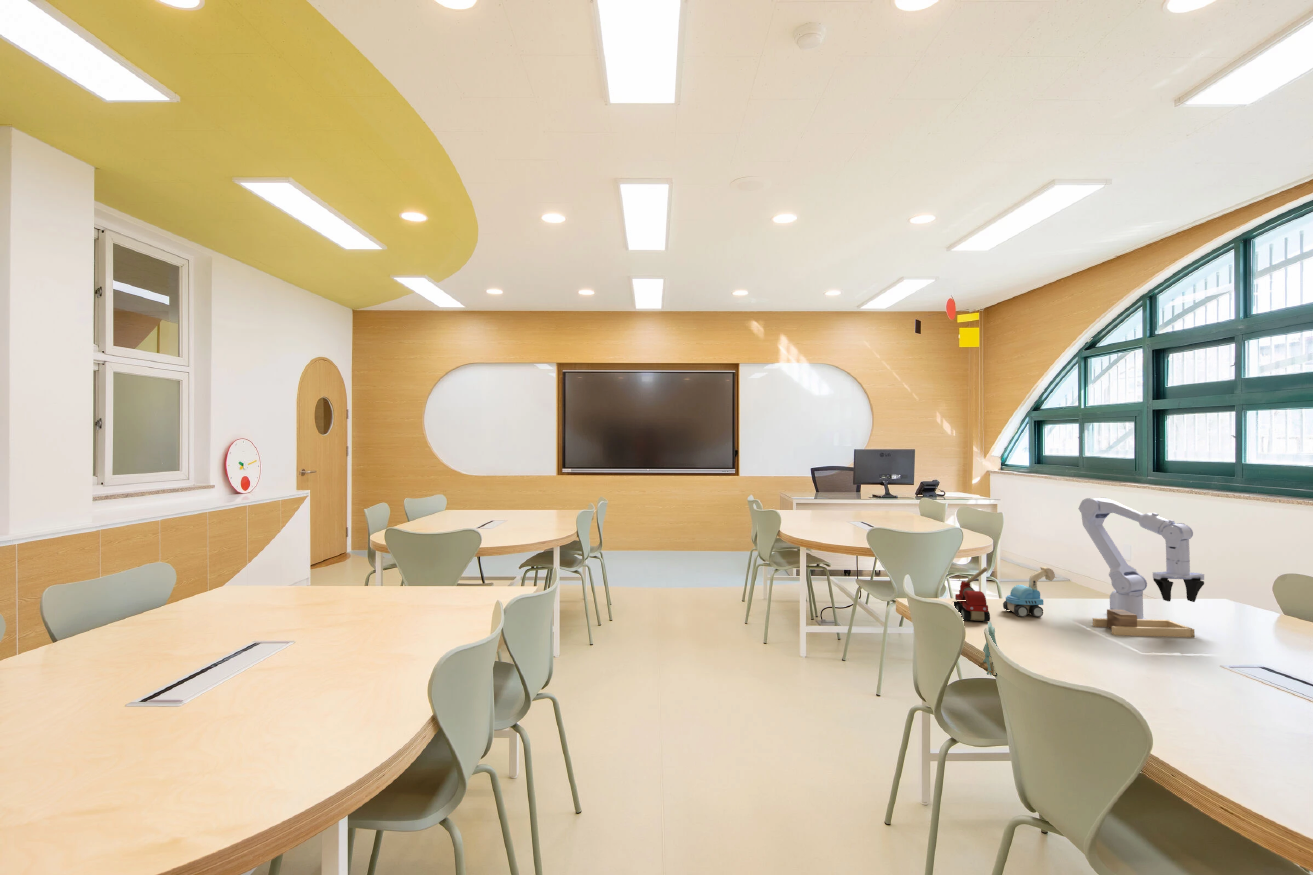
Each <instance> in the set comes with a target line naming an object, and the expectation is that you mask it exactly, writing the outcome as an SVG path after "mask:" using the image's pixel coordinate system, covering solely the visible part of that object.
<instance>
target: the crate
mask: <svg viewBox="0 0 1313 875" xmlns="http://www.w3.org/2000/svg"><path fill="white" fill-rule="evenodd" d="M1106 618H1107V627H1106V628H1108V629H1110V630H1112V626H1124V627H1137V615H1136V614H1133V613H1130V612H1128V611H1125V610H1113V609H1110V608H1109V609H1108V608H1107V609H1106Z"/></svg>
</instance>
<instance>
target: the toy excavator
mask: <svg viewBox="0 0 1313 875" xmlns="http://www.w3.org/2000/svg"><path fill="white" fill-rule="evenodd" d="M1039 569H1040V570H1038V571H1036V572H1034V573H1033V574H1031V575H1030V576H1029V578H1028V579H1029V580H1028V586H1026V585H1024V584H1018V585H1017V584H1016V585H1015V586H1013V587H1012V588H1011V590H1010V594H1008V595H1007V596H1005V600H1004V602H1003V603H1002V607H1003V609H1004V610H1005V609H1006V610H1010V611H1012V612H1013V613H1014V614H1015V616H1018V617H1020V618H1022V617H1026V616H1028V615H1029V614H1030V615H1031V616H1033V617H1035V618H1036V617H1037V618H1041V617H1042V616H1043V615H1044V609H1043V608H1042V607H1041V606H1043V605H1044V599H1043V598H1041V592H1040V591H1039V590H1038V581H1040V580H1041V579H1043V578H1044V579H1045V580H1046V581H1049V582H1052V581H1053V580H1054V579H1055V576H1056V575H1055V574H1056V573H1055V572H1054V570H1053V569H1052V568H1049V567H1047V566H1040V567H1039ZM1006 610H1005V611H1006Z"/></svg>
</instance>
